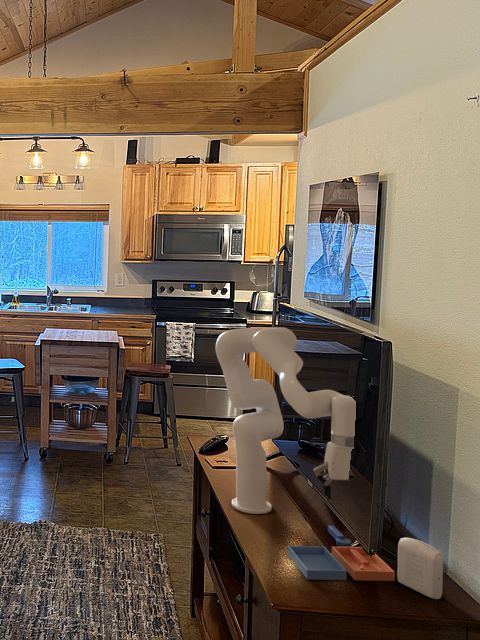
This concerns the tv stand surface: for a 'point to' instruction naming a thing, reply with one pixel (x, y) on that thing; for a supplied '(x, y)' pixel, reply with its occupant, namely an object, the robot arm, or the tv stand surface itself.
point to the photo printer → (420, 567)
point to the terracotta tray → (355, 570)
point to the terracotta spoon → (361, 561)
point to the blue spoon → (339, 537)
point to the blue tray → (317, 563)
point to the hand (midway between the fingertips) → (344, 498)
